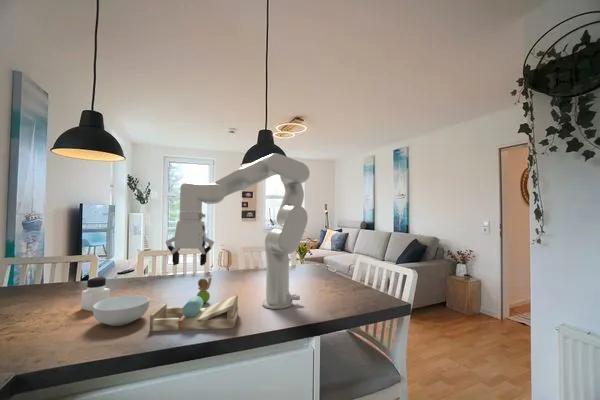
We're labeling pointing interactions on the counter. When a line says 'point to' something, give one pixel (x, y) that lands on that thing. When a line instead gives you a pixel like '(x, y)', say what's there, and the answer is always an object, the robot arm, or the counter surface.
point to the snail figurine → (204, 289)
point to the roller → (192, 307)
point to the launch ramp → (196, 317)
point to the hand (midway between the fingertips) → (189, 264)
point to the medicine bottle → (94, 293)
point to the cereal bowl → (120, 309)
